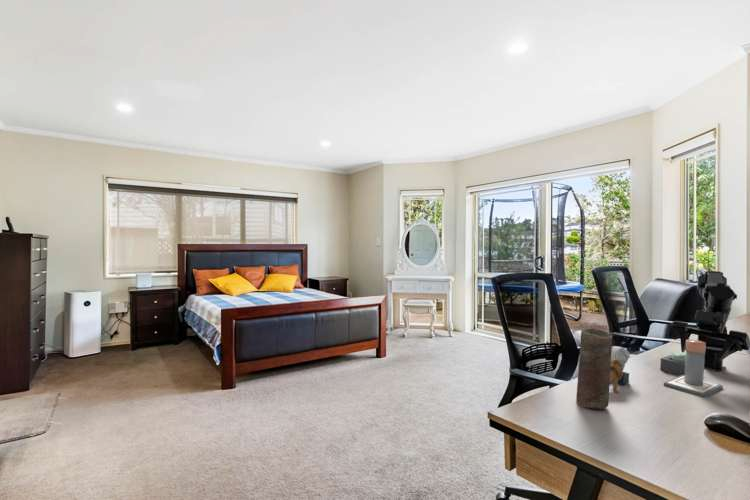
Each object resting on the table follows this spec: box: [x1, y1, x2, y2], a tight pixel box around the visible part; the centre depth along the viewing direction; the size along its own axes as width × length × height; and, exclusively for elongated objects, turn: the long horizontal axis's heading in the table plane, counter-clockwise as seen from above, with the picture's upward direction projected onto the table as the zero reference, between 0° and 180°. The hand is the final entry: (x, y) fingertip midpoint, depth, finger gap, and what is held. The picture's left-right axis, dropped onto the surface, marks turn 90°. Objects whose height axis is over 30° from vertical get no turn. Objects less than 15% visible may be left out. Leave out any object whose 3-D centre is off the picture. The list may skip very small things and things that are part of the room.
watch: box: [610, 345, 631, 387], centre depth 118 cm, size 6×8×11 cm
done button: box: [671, 352, 686, 363], centre depth 129 cm, size 4×4×3 cm
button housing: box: [659, 354, 685, 376], centre depth 129 cm, size 8×8×4 cm
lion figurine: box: [610, 359, 624, 394], centre depth 110 cm, size 15×5×9 cm, turn 115°
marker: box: [684, 339, 706, 386], centre depth 115 cm, size 5×5×13 cm
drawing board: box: [663, 375, 724, 398], centre depth 115 cm, size 14×10×1 cm
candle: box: [575, 328, 613, 410], centre depth 100 cm, size 8×7×20 cm
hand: (700, 355), depth 118 cm, fingers open, 9 cm apart
